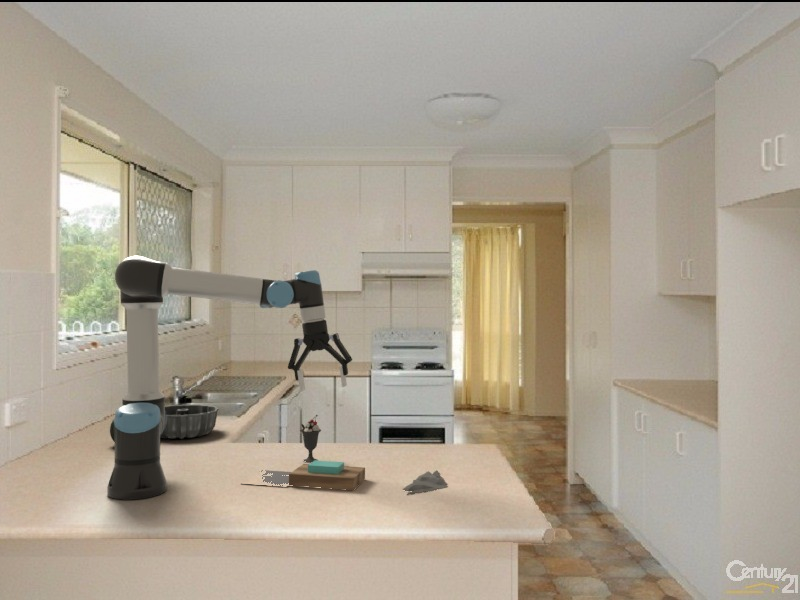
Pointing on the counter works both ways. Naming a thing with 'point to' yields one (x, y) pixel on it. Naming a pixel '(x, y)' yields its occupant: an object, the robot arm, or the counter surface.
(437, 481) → the cloth
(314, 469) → the rectangular block
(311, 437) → the sundae
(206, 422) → the bundt pan
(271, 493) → the counter surface
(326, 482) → the brown wooden slab
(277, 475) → the mat
